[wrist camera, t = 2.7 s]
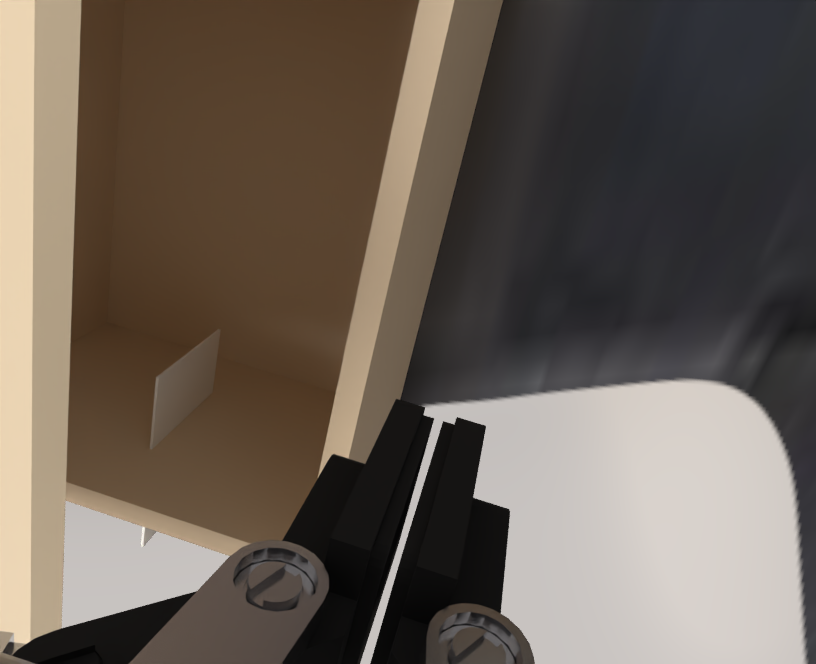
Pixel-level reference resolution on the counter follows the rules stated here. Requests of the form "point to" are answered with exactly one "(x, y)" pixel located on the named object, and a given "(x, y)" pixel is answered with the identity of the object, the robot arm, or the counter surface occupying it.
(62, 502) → the lid flap
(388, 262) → the carton
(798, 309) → the counter surface
